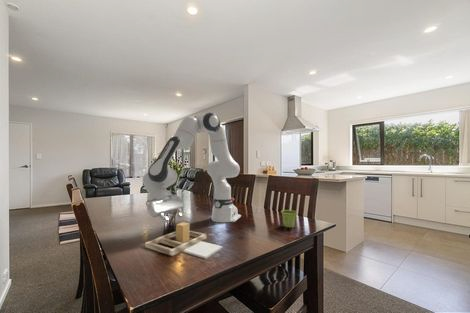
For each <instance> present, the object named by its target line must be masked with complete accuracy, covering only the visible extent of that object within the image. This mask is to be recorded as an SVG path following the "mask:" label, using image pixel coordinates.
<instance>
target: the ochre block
mask: <svg viewBox="0 0 470 313" xmlns="http://www.w3.org/2000/svg"><path fill="white" fill-rule="evenodd" d="M190 224H191V223H189V222H184V221H183V222H182V221H181V222H180V223H177V224H175V227H176V228H175V231H176V236H175V241H177V242H181V243H186V242H188V241H190V236H189V230H190V227H191V225H190ZM190 231H191V230H190Z"/></svg>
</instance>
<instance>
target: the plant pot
mask: <svg viewBox="0 0 470 313" xmlns="http://www.w3.org/2000/svg"><path fill="white" fill-rule="evenodd" d="M280 212H281V215H282V221H283V226H284V227H286V228H288V227H289V228H290V229H291V227H292V228H295V224H296V217H297V214H298V212H297V211H296V210H290V209H284V210H281V211H280Z"/></svg>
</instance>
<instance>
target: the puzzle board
mask: <svg viewBox="0 0 470 313" xmlns="http://www.w3.org/2000/svg"><path fill="white" fill-rule="evenodd" d="M207 236H208V234H207V233H203V232H199V231H198V232H197V231H193V230H189V237H194V238H192V239H191V240H190V239H189V240H188V241H185V242H183V243H182V242H179V241H176V240H173V239H172V238H176V230H175V231H172V232H170V233H167V234H164V235H162V236H159V237H157V238H154V239H151V240H148V241H145V244H144V248H147V249H150V250H153V251H156V252H159V253H163V254H165V255H168V256H175V255H177V254H178V253H180V252H183V250H185V249H187V248H189V247H191V246H193V245H195V244H197V243H199V242H201V241H204V240H206V239H207ZM161 244H163V245H161ZM164 245H166V246H164ZM168 246H170V247H173V248H170V247H168Z"/></svg>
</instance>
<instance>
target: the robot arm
mask: <svg viewBox="0 0 470 313" xmlns="http://www.w3.org/2000/svg"><path fill="white" fill-rule="evenodd" d="M179 123H180V124H179V125H178V127H177V129H176V131H175V133H174V134H173V136H171V137H170V138H169V139H168V141H166V144H165V145H164V146H163V148H162V150H161V152H160V153H159V154H158V156H157V158H156V159H155V161H154V162H152V164H151V165H150V166H149V168H148V171H147V172H146V173H145V174H144V175H143V176H142V184H143V186H144V188H145V190H146V193H148V194H149V197H150V199H147V201H146V202H145V205H146V207H147V210H148V212H149V214H150V216H151V217H152V218H156V217H159V218H160V219H162V221H163V222H164V223H168V222H169V220H170V219H169V217H168V216H166V215H167V214H172V213H175V212H177V214H178V215H177V217H178V219H179V218H180V219H181V218H183V216H184V215H183V213H182V210H183V209H184V207H185V203H184V202H183V200H182V199H181V197H180V196H178V193H177V192H176V191H174V190H173V191H172V190H169V189H167V188H169V187H171V186H172V185H175V183H176V182H177V180H178V178H179V175H178V172H177V171H176V170H175V169H174V168H171V167H169V164H170V162H171V160H172V158H173V157H174V154H175V153H176V152H177V151H178V150H185V149H188V148H190V147H191V146H192V145H193V142H194V140H195V139H196V137H197V133H207V135H208V138H209V144H210V145H209V146H210V150H211V151H210V152H211V154H212V156H214V157H215V158H216V160H213V161H211V162H208V164H207V165H206V172H207V175H209V176H210V178H211V180H212V184H213V191H214V192H213V195H214V198H213V206H212V212H211V215H210V218H211V221H212V222H216V223H235V222H236V221H238V219H239V220H240V218H241V217H242V215H241V214H239V213H238V207H237V206H235V205H234V204H233V202H234V201H235V198H234V197H232V187H231V185H230V184H229V183H228V181H227V179H231V178H233V179H234V178H236V177H237V176H239V174H240V171H241V168H240V165H239V163H238V162H236V161H235V159H234V158H233V157H232V155H231V153H230V150H229V147H228V140H227V139H228V138H227V134H226V130H225V128H224V126H223V125H222V123H221V121H220V117H219V116H218V115H217V114H216V113H215V112H205V113H201V114H199V115H196V116H189V115H186V116H185V117H184V118H183V119H182V121H181V122H179Z"/></svg>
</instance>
